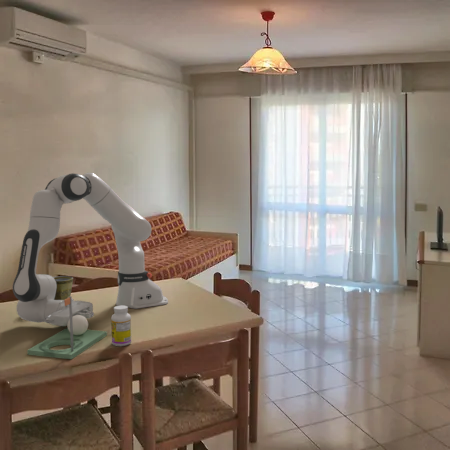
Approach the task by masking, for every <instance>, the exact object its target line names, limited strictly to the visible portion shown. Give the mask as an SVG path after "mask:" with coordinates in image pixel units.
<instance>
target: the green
mask: <svg viewBox="0 0 450 450" xmlns="http://www.w3.org/2000/svg"><path fill="white" fill-rule="evenodd" d="M72 299H73V296H69V298H67V299H65V306H67V305H69V310H70V332H69V330H68V327H65V328H64V329H63V330H61V331H59V332H57V333H55V334H53V335H52V336H50V337H48V338H46V339H44V340H43V341H41V342H39V343H37V344H36V345H34V346H32V347H31V348H29V349H27V355H28V356H38V357H45V358H47V357H48V358H56V359H57V358H58V359H67V360H73V359H74V358H76V357H77V356H79V355H80V354H82V353H83V352H84V351H86V350H88V349H90V348H91V347H92V346H94V345H95V344H97V343H98V342H99V341H101V340H102V339H104V338H105V337H107V336H108V331H106V330H96V329H95V330H94V329H87V330H86V332H85V333H83V334H81V335H73V321H72ZM96 342H97V343H96ZM56 346H70V347H69V348H65V349H64V348H63V349H51V348H53V347H56Z"/></svg>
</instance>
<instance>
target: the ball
mask: <svg viewBox="0 0 450 450" xmlns="http://www.w3.org/2000/svg"><path fill="white" fill-rule="evenodd" d="M87 319H88V318H85V317H84V316H81V315H75V316H73V317H72V321H73V335H81V334H83V333H85V332H86V330H88V329H89V328H88V327H89V322H88V320H87ZM67 328H68V330H69V332H70V320H69V321H68V325H67Z"/></svg>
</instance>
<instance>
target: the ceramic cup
mask: <svg viewBox="0 0 450 450" xmlns="http://www.w3.org/2000/svg"><path fill="white" fill-rule="evenodd" d="M52 277H53V278H54V279H55V281H56V283H57V290H56V295H55V299H54V300H65V299H67V298H69V296H71V293H72V287H73V281H74V277H72V276H69V275H59V276H52Z"/></svg>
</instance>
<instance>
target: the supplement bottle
mask: <svg viewBox="0 0 450 450" xmlns="http://www.w3.org/2000/svg"><path fill="white" fill-rule="evenodd" d="M128 309H129V307H127V306H123V305H121V306H118V305H116V306H114V307H113V312H114V314H112V315H111V318H110V322H111V323H110V324H111V344H112V345H113V346H116V347H124V346H128V345H130V344H132V316H131V314H130V313H128V311H129V310H128Z"/></svg>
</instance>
